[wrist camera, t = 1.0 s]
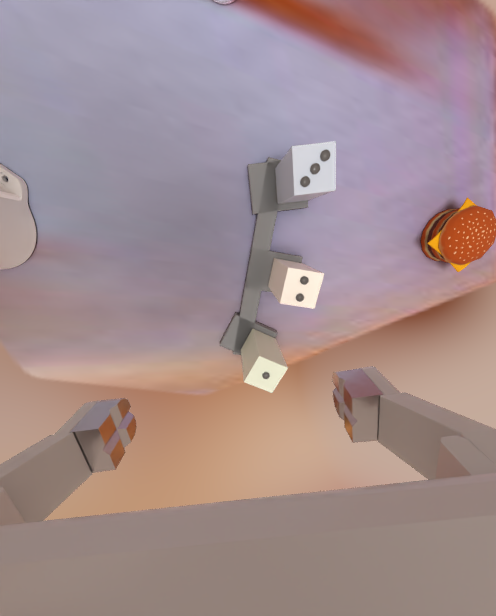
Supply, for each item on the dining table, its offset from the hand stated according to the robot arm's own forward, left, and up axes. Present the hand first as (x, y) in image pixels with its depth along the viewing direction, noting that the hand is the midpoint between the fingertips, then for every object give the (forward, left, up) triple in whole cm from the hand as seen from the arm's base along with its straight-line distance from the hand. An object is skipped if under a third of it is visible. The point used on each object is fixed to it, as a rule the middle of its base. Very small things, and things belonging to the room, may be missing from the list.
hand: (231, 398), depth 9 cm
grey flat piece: (+5, +4, -34) cm, 35 cm away
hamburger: (+22, +33, -34) cm, 53 cm away
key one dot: (+15, -6, -32) cm, 36 cm away
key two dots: (+7, +6, -32) cm, 34 cm away
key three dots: (-3, +16, -32) cm, 36 cm away
